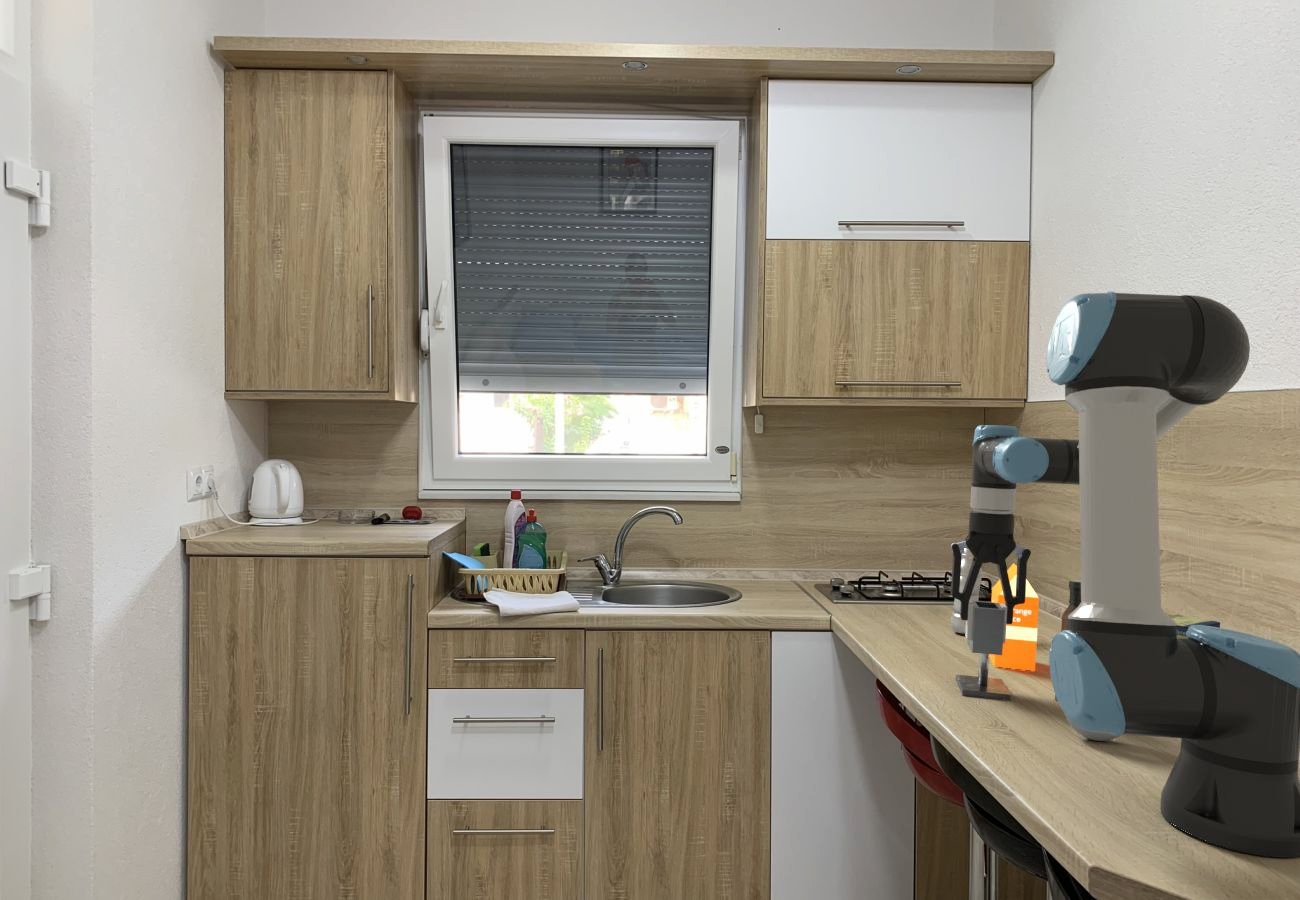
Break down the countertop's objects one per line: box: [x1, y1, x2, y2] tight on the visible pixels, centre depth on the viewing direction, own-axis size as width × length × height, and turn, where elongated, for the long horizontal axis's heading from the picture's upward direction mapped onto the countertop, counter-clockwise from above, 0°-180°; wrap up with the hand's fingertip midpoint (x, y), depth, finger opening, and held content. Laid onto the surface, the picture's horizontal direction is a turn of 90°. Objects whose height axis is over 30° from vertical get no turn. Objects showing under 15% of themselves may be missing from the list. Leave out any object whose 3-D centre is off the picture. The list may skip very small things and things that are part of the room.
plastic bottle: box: [950, 547, 983, 635], centre depth 203 cm, size 6×7×20 cm
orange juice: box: [989, 562, 1040, 672], centre depth 177 cm, size 8×9×20 cm
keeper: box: [955, 653, 1012, 701], centre depth 158 cm, size 10×8×12 cm
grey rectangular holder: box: [966, 600, 1005, 655], centre depth 158 cm, size 7×5×8 cm
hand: (984, 639), depth 158 cm, fingers closed on grey rectangular holder, 5 cm apart
